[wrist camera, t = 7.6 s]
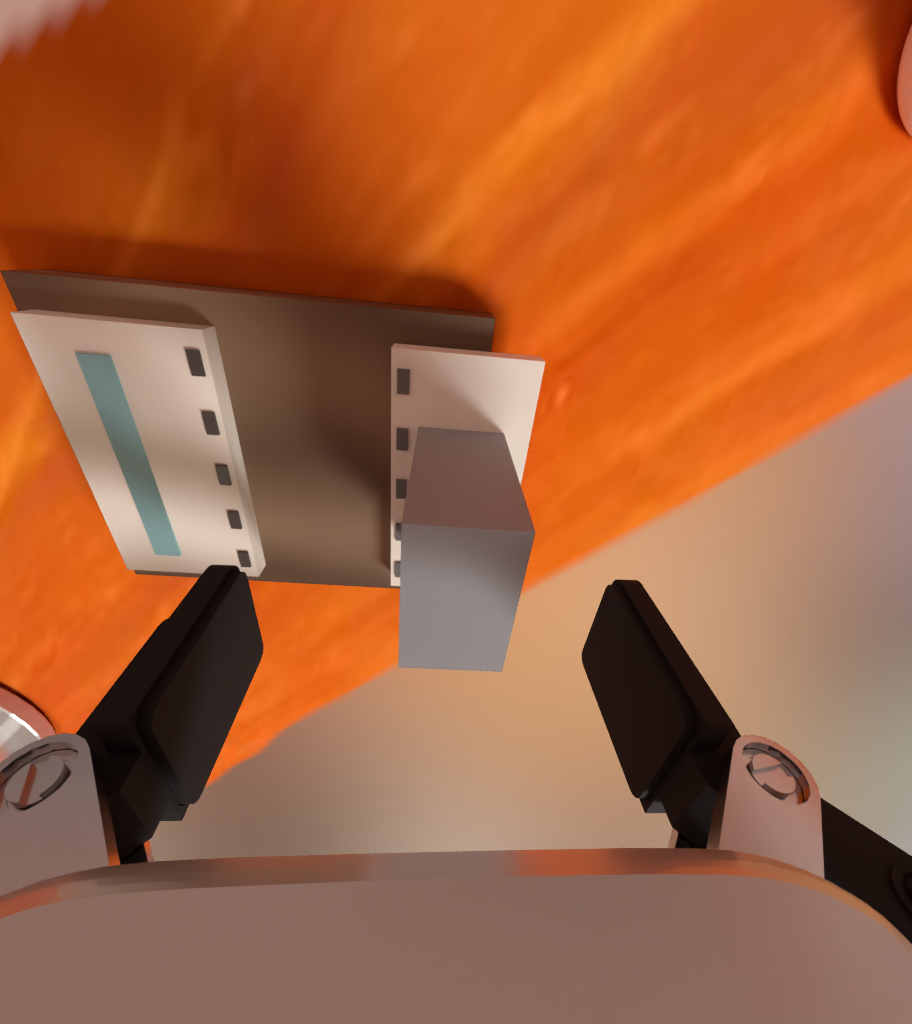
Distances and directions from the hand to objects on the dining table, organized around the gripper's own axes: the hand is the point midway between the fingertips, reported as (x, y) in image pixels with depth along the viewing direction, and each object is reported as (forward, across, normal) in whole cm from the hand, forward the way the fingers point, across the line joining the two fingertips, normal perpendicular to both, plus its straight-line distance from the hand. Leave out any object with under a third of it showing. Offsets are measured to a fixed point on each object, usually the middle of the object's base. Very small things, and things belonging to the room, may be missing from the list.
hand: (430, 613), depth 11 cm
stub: (+7, -1, -1) cm, 7 cm away
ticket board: (+8, +6, -1) cm, 10 cm away
